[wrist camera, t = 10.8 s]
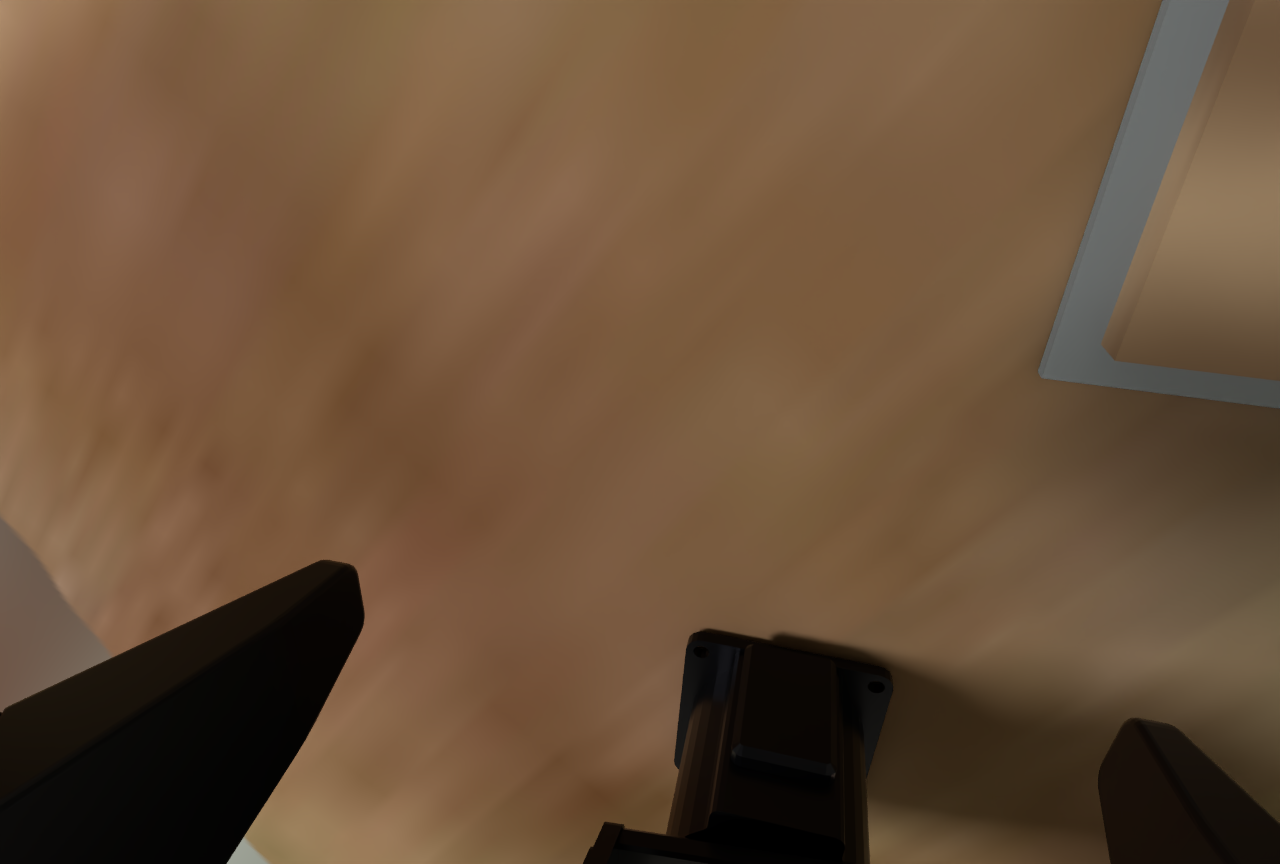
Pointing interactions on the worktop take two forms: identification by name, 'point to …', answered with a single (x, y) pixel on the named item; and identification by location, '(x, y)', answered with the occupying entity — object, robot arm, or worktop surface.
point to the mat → (1141, 220)
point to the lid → (1215, 220)
